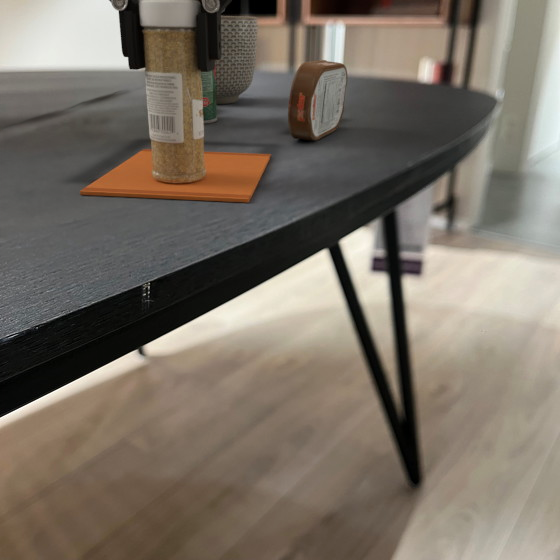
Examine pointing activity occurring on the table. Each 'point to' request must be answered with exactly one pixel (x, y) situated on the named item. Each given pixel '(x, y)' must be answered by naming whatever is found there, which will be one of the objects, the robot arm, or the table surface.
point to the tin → (317, 99)
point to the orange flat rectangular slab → (213, 187)
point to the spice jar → (173, 89)
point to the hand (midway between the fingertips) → (173, 66)
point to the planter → (235, 57)
